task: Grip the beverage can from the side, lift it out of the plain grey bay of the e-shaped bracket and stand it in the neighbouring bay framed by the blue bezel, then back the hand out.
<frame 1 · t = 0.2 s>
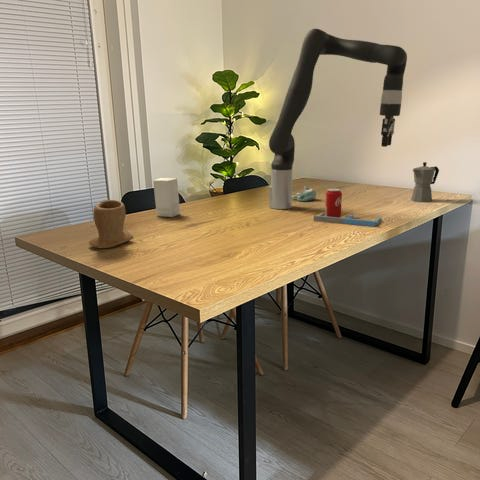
hand: (386, 145, 184), 28 cm above the table, tool pointing down, fingers open, 8 cm apart
brown hollow piece: (114, 245, 158), on the table
skincare box: (167, 215, 200), on the table
beverage can: (332, 219, 188), on the table
stuffed animal: (303, 200, 228), on the table
coffeepot: (423, 200, 222), on the table
e-shaped bracket: (347, 220, 186), on the table
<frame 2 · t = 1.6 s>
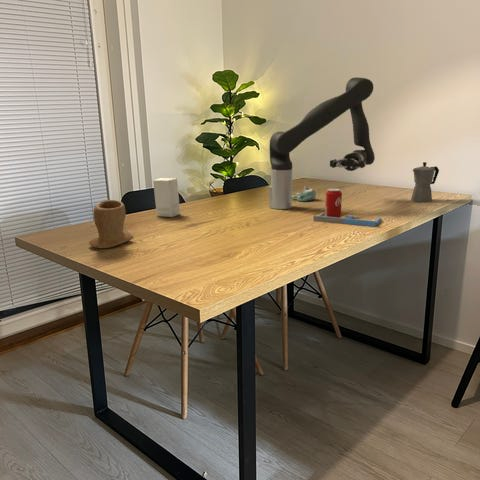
hand: (342, 165, 193), 20 cm above the table, tool horizontal, fingers open, 8 cm apart
nothing on the table moved.
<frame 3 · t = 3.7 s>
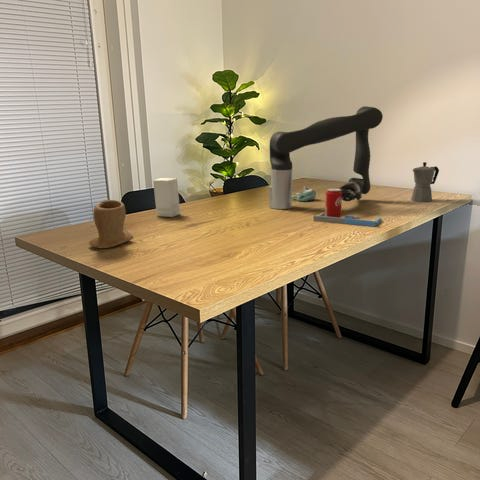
hand: (339, 197, 194), 7 cm above the table, tool horizontal, fingers open, 8 cm apart
nothing on the table moved.
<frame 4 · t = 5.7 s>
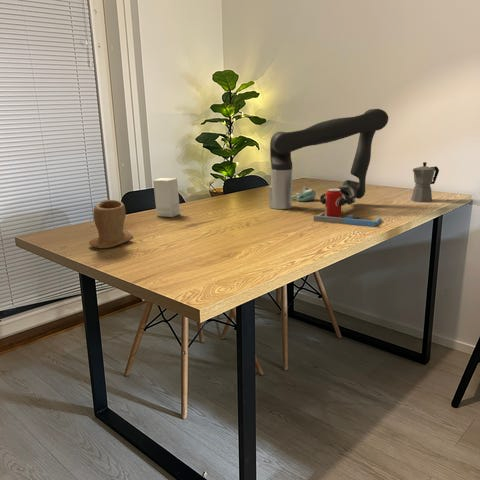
hand: (331, 202, 184), 7 cm above the table, tool horizontal, fingers closed on beverage can, 6 cm apart
beverage can: (332, 219, 188), on the table, touching gripper
everything else where it was.
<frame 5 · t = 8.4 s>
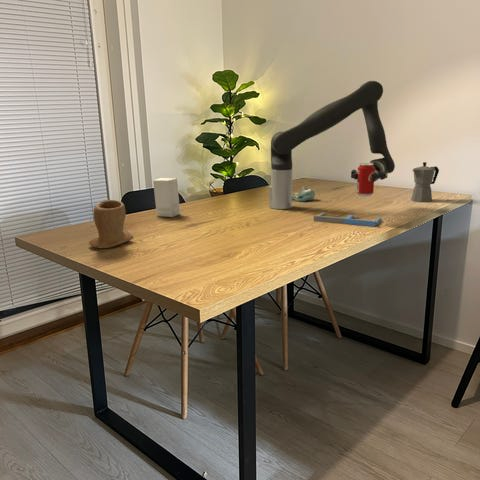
hand: (364, 177, 176), 18 cm above the table, tool horizontal, fingers closed on beverage can, 6 cm apart
beverage can: (364, 195, 180), point 10 cm above the table, touching gripper
when the fingers open (8 cm above the table, at t = 10.8 s): beverage can stays where it is, on the table.
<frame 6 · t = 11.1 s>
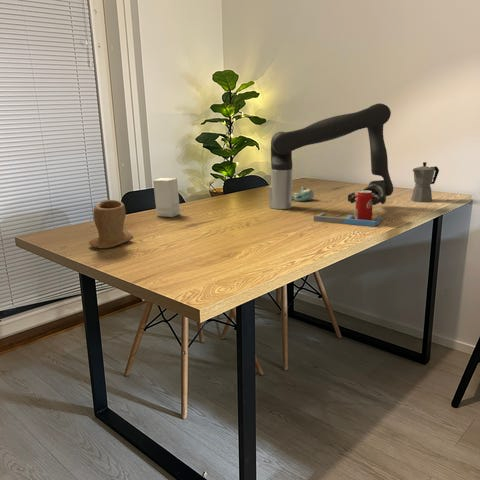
hand: (362, 201, 179), 8 cm above the table, tool horizontal, fingers open, 8 cm apart
beverage can: (363, 222, 183), on the table
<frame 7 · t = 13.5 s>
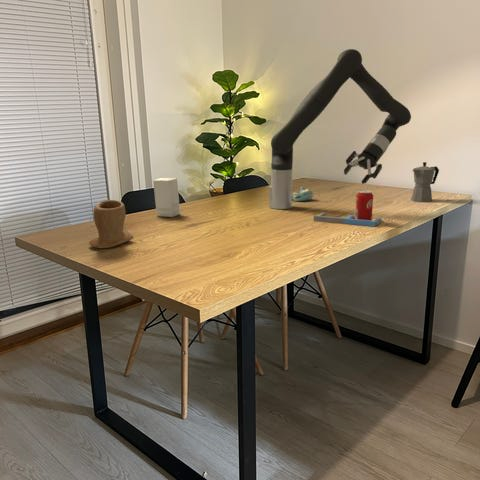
hand: (353, 178, 193), 15 cm above the table, tool tilted 45°, fingers open, 8 cm apart
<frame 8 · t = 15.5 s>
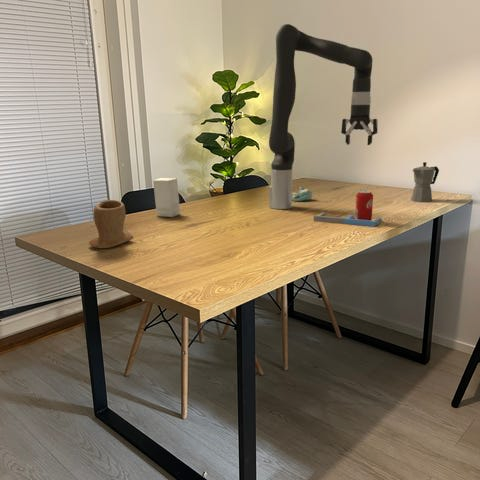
hand: (358, 144, 194), 28 cm above the table, tool pointing down, fingers open, 8 cm apart
at the end: beverage can inside the target area (0.1 cm from its centre), on the table; beverage can tilted 0°; the gripper is holding nothing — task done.
